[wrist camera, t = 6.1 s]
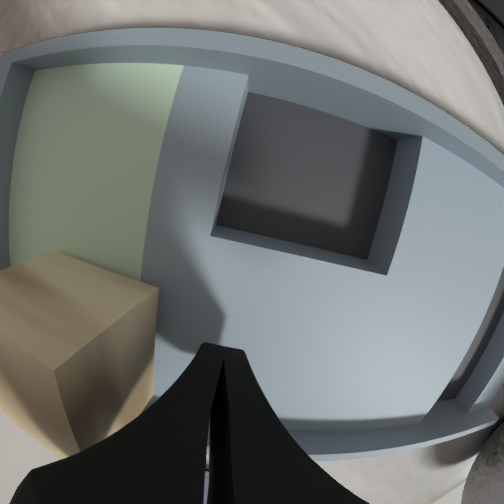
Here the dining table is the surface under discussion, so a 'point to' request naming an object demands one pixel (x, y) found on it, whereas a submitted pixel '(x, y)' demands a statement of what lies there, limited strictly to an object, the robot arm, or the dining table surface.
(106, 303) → the maple block
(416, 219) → the tray
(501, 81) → the picture frame
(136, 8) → the dining table surface
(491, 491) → the moon model
